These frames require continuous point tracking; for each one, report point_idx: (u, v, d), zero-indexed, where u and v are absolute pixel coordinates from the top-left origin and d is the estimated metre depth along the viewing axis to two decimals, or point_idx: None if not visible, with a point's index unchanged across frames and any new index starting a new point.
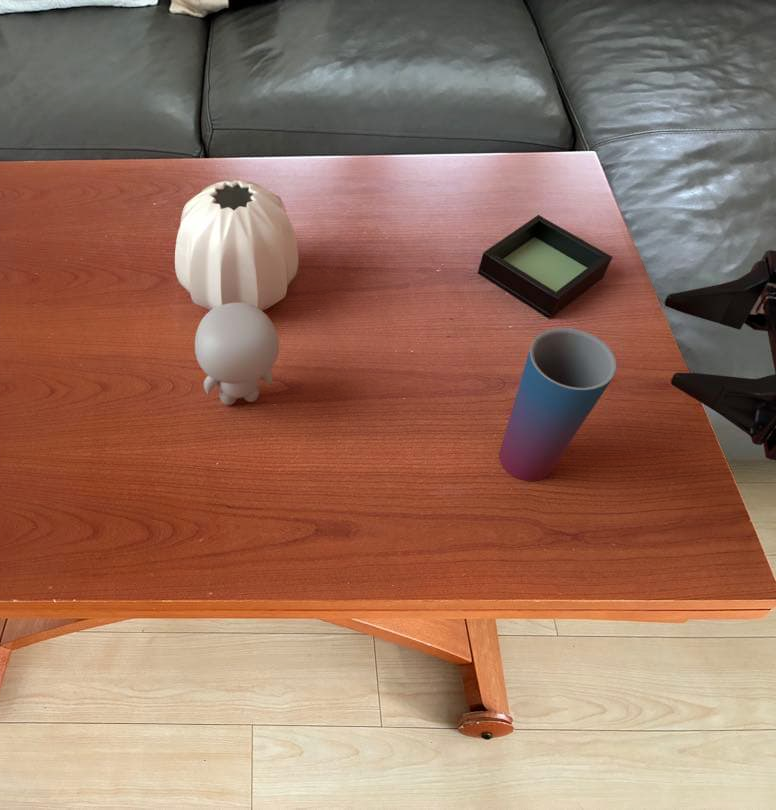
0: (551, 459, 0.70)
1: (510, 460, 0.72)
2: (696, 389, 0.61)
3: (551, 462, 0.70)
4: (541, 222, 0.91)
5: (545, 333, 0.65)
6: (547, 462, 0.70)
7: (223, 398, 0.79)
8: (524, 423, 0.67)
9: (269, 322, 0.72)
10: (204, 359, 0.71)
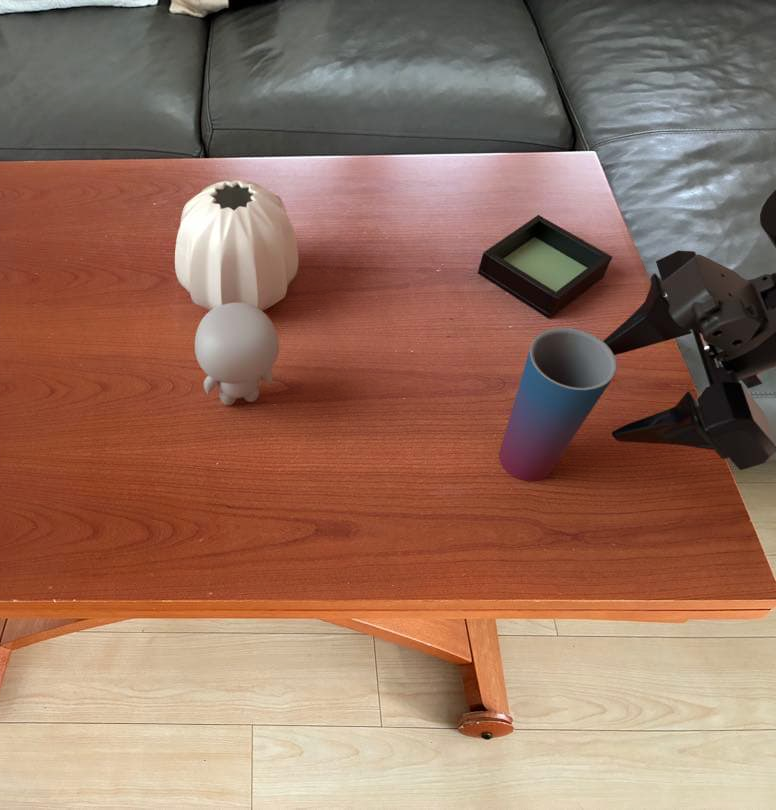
0: (551, 459, 0.70)
1: (510, 460, 0.72)
2: (638, 437, 0.61)
3: (551, 462, 0.70)
4: (541, 222, 0.91)
5: (545, 333, 0.65)
6: (547, 462, 0.70)
7: (223, 398, 0.79)
8: (524, 423, 0.67)
9: (269, 322, 0.72)
10: (204, 359, 0.71)
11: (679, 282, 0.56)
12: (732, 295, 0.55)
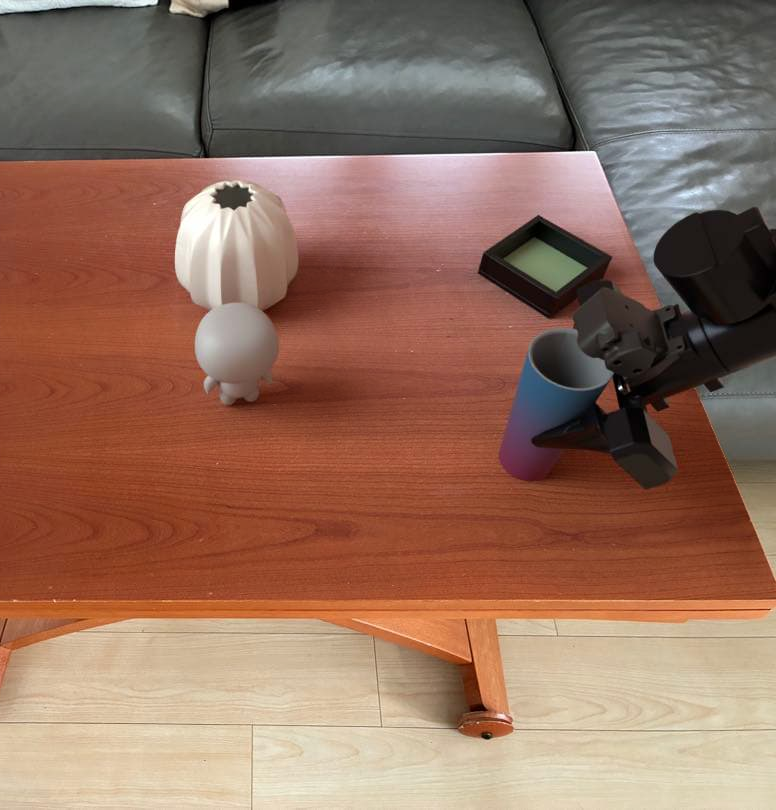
0: (550, 459, 0.70)
1: (510, 460, 0.72)
2: (554, 443, 0.66)
3: (550, 462, 0.70)
4: (541, 222, 0.91)
5: (544, 333, 0.65)
6: (546, 461, 0.70)
7: (223, 398, 0.79)
8: (523, 423, 0.67)
9: (269, 322, 0.72)
10: (204, 359, 0.71)
11: (586, 313, 0.60)
12: (634, 326, 0.58)
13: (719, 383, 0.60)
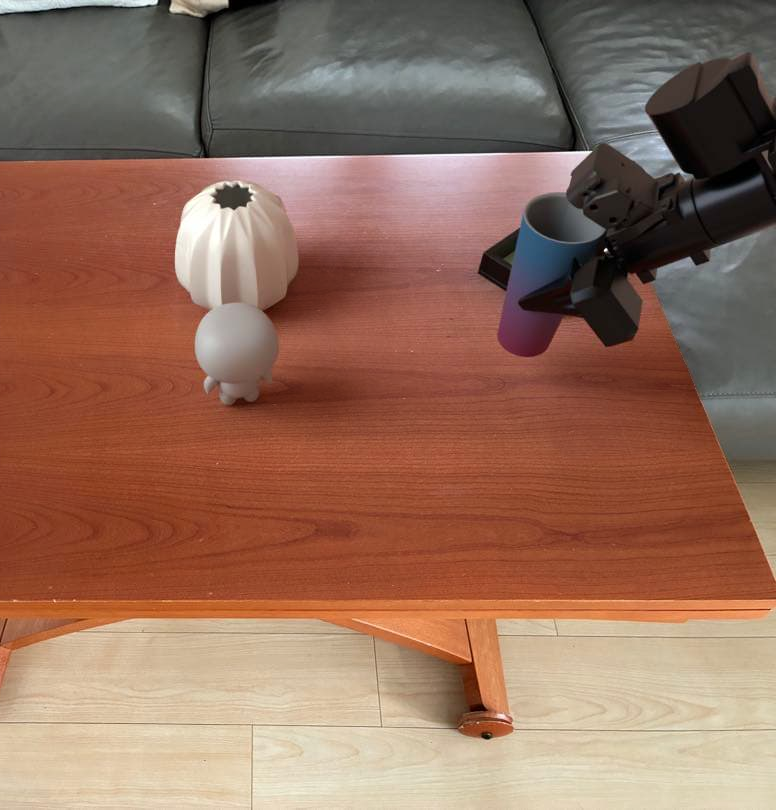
0: (539, 331, 0.72)
1: (503, 330, 0.74)
2: (537, 305, 0.68)
3: (540, 335, 0.72)
4: None
5: (547, 194, 0.66)
6: (535, 333, 0.72)
7: (223, 398, 0.79)
8: (514, 285, 0.70)
9: (269, 322, 0.72)
10: (204, 359, 0.71)
11: (582, 166, 0.61)
12: (623, 180, 0.59)
13: (704, 255, 0.60)
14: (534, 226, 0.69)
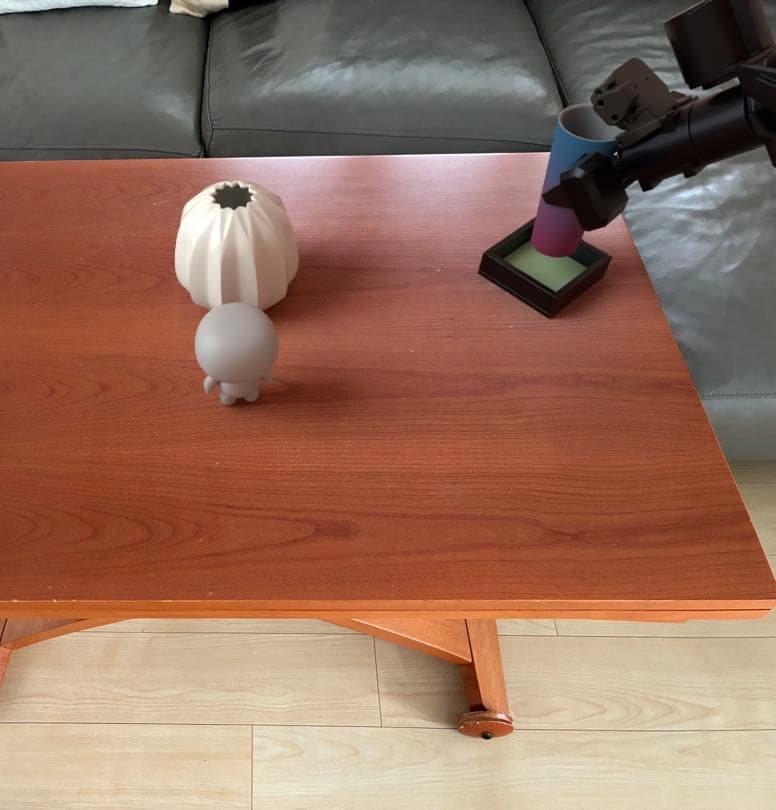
0: (559, 229, 0.82)
1: (534, 227, 0.85)
2: (554, 198, 0.78)
3: (560, 235, 0.82)
4: None
5: (591, 104, 0.77)
6: (555, 231, 0.82)
7: (223, 398, 0.79)
8: (544, 180, 0.80)
9: (269, 322, 0.72)
10: (204, 359, 0.71)
11: None
12: (638, 89, 0.69)
13: (692, 169, 0.68)
14: (576, 133, 0.79)
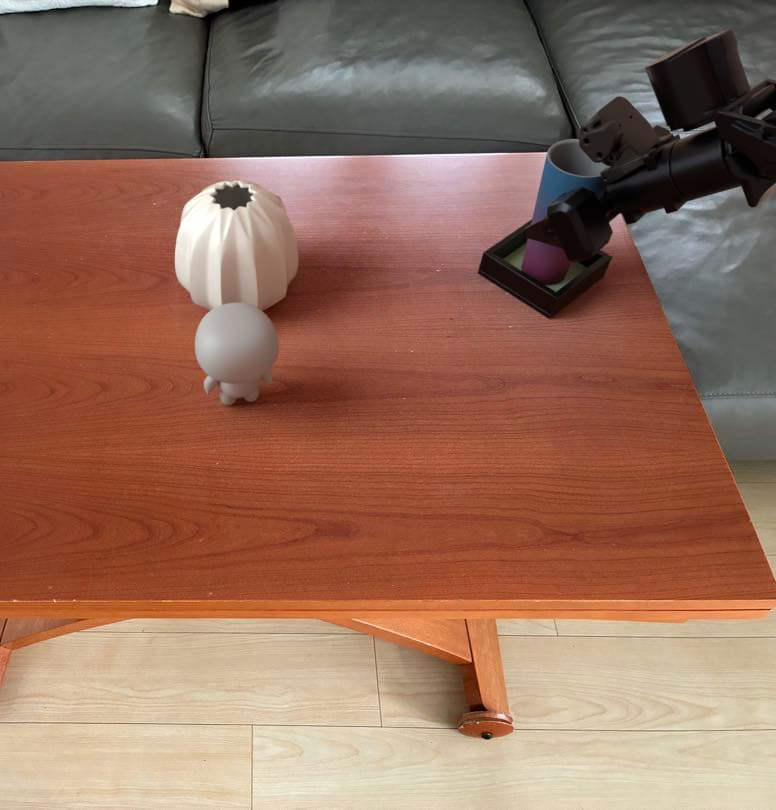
0: (548, 258, 0.85)
1: (524, 256, 0.88)
2: (535, 233, 0.81)
3: (549, 263, 0.85)
4: None
5: (578, 140, 0.80)
6: (545, 260, 0.85)
7: (223, 398, 0.79)
8: (534, 212, 0.84)
9: (269, 322, 0.72)
10: (204, 359, 0.71)
11: None
12: (622, 127, 0.72)
13: (673, 205, 0.71)
14: (564, 167, 0.82)
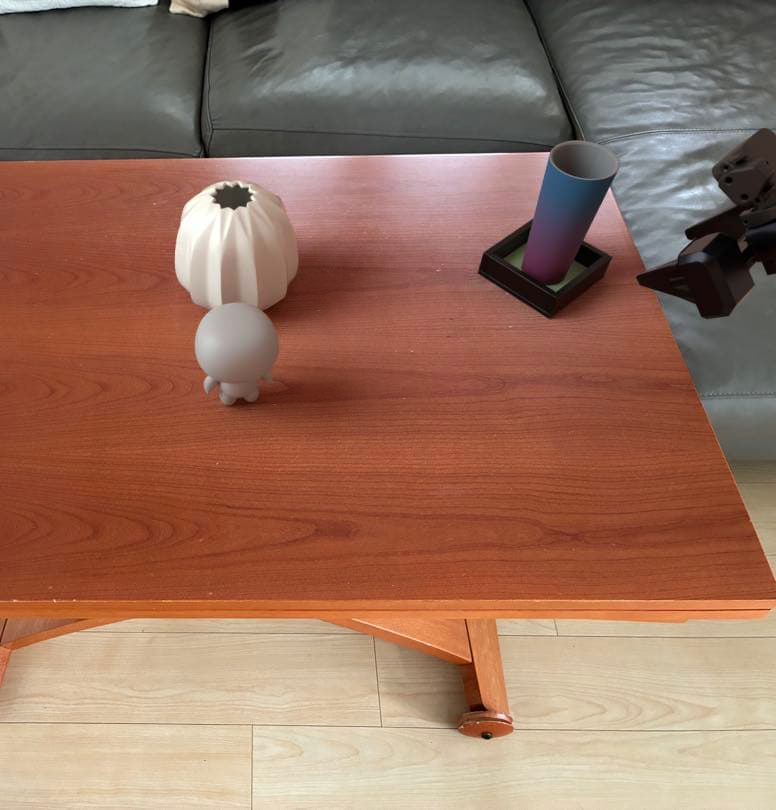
0: (549, 259, 0.85)
1: (524, 256, 0.88)
2: (652, 281, 0.71)
3: (549, 264, 0.86)
4: None
5: (581, 141, 0.80)
6: (545, 261, 0.85)
7: (223, 398, 0.79)
8: (535, 213, 0.83)
9: (269, 322, 0.72)
10: (204, 359, 0.71)
11: (738, 145, 0.64)
12: (770, 164, 0.62)
13: None
14: (566, 168, 0.82)
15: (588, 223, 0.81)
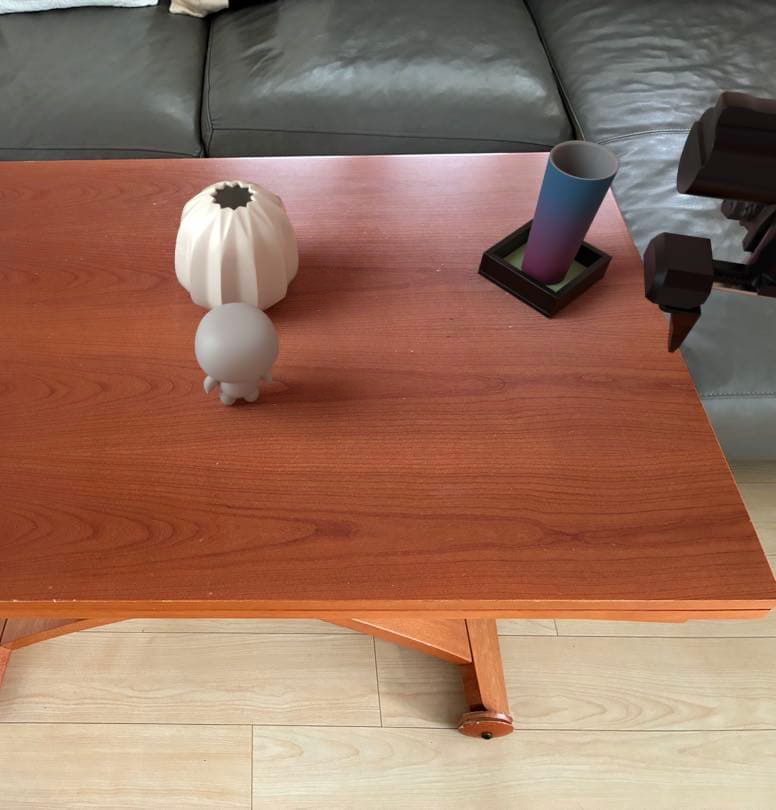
0: (549, 259, 0.85)
1: (524, 256, 0.88)
2: (669, 334, 0.64)
3: (549, 264, 0.86)
4: None
5: (581, 141, 0.80)
6: (545, 261, 0.85)
7: (223, 398, 0.79)
8: (535, 213, 0.83)
9: (269, 322, 0.72)
10: (204, 359, 0.71)
11: None
12: None
13: None
14: (566, 168, 0.82)
15: (588, 223, 0.81)
